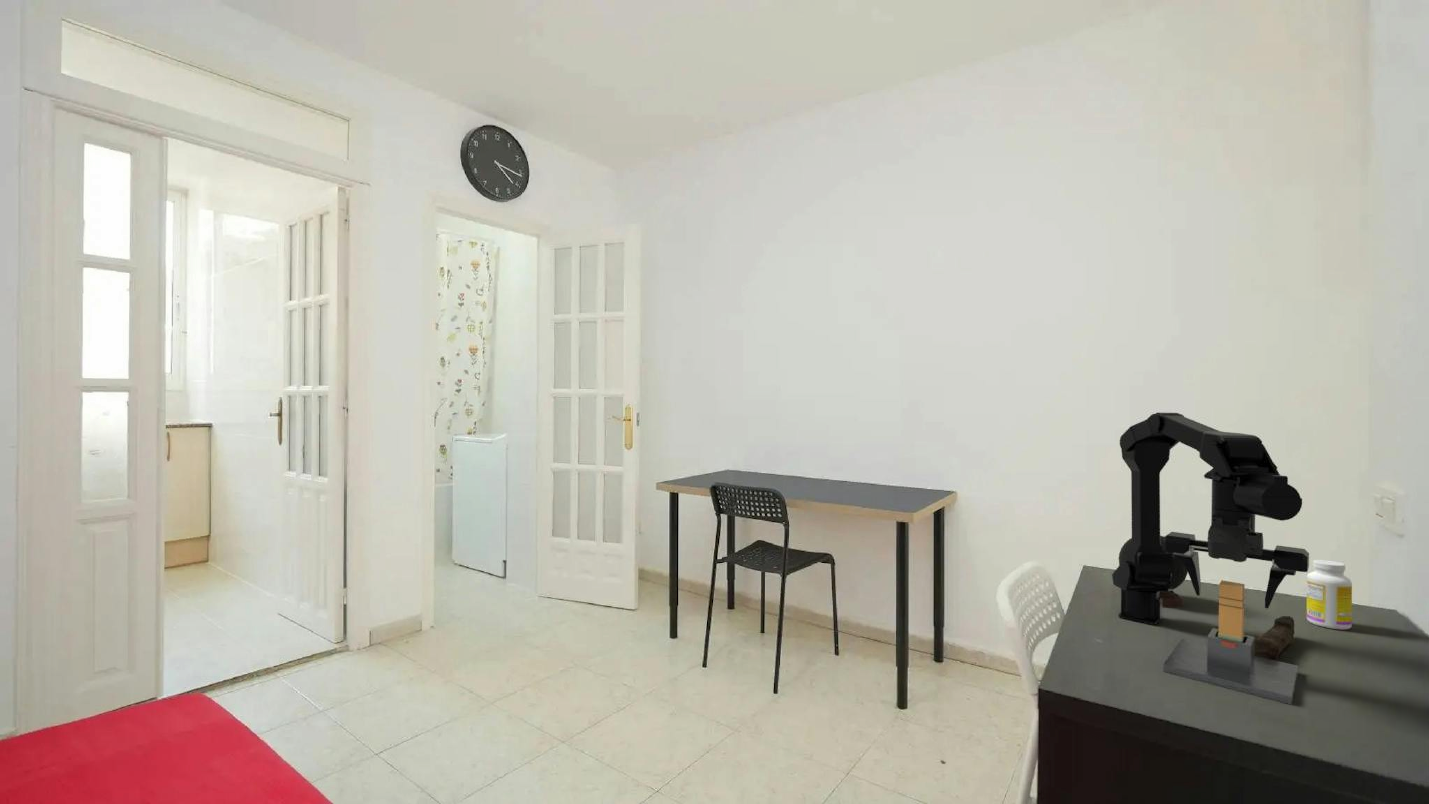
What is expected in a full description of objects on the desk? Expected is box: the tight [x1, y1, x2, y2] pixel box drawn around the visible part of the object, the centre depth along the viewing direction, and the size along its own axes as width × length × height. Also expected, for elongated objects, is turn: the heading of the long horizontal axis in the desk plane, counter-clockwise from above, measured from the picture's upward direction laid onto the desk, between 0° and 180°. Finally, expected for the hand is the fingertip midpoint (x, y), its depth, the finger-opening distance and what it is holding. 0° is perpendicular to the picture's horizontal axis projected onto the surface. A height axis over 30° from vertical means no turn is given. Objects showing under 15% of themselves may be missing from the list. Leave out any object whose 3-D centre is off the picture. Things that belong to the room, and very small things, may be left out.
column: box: [1218, 579, 1246, 643], centre depth 106 cm, size 3×3×10 cm
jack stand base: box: [1162, 627, 1299, 705], centre depth 107 cm, size 16×16×6 cm
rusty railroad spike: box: [1254, 615, 1295, 661], centre depth 117 cm, size 19×4×5 cm, turn 125°
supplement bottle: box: [1306, 559, 1353, 631], centre depth 130 cm, size 7×7×13 cm
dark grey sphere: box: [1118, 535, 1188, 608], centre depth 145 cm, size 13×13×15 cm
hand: (1231, 601), depth 106 cm, fingers open, 9 cm apart
